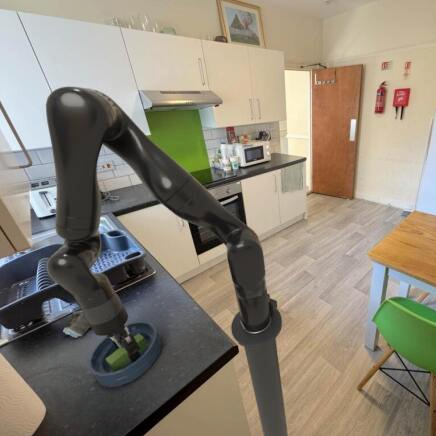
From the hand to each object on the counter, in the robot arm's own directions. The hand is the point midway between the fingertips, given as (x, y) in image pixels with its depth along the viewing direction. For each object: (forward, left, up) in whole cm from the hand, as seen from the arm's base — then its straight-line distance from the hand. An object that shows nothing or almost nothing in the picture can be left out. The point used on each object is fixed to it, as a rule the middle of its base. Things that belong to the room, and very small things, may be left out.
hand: (128, 352), depth 68 cm
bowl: (0, 0, -3) cm, 3 cm away
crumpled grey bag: (+3, -27, -3) cm, 27 cm away
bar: (0, 0, -2) cm, 2 cm away
